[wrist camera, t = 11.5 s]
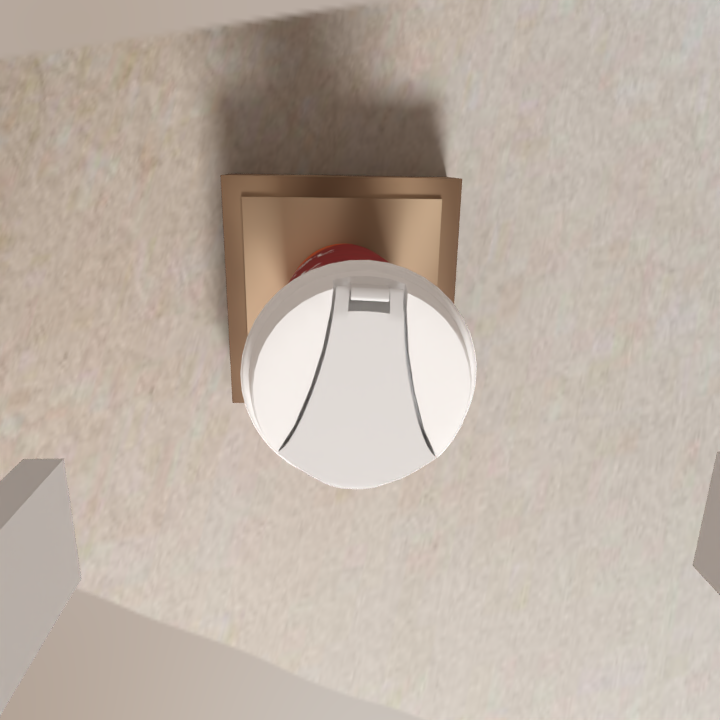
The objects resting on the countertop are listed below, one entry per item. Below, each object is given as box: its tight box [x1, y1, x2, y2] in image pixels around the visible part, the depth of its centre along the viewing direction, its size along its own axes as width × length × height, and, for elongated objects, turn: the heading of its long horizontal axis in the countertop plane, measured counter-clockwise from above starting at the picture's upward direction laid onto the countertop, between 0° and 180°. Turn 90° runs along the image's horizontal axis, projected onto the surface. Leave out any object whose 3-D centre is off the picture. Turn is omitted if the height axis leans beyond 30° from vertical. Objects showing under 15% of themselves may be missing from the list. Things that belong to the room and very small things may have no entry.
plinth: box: [221, 174, 462, 403], centre depth 34 cm, size 12×12×4 cm
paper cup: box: [240, 244, 477, 489], centre depth 25 cm, size 8×8×14 cm
